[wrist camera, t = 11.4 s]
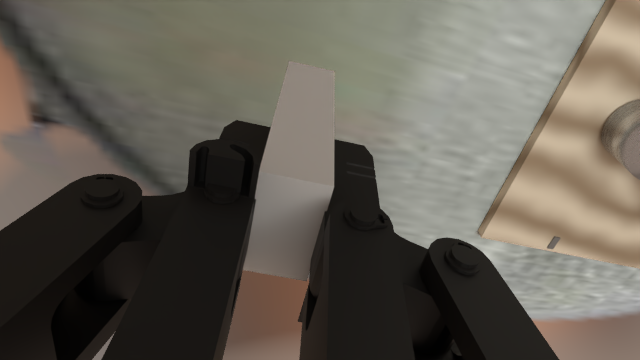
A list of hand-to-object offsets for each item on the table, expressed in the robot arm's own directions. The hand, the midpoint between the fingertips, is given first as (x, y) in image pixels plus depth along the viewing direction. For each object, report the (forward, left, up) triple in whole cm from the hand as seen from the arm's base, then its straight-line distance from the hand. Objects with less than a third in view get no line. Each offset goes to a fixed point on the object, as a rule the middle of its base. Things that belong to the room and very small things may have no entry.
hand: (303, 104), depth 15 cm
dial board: (+10, +40, -32) cm, 52 cm away
